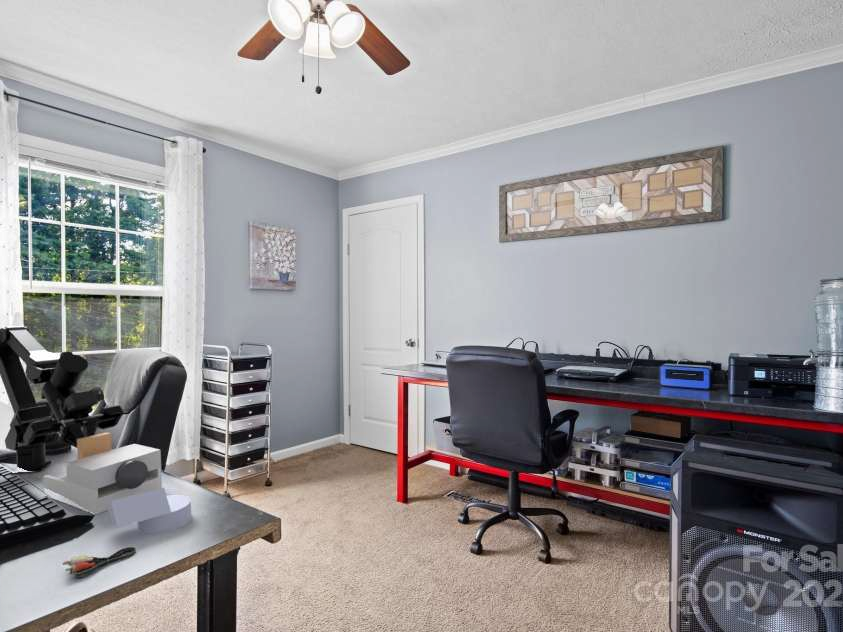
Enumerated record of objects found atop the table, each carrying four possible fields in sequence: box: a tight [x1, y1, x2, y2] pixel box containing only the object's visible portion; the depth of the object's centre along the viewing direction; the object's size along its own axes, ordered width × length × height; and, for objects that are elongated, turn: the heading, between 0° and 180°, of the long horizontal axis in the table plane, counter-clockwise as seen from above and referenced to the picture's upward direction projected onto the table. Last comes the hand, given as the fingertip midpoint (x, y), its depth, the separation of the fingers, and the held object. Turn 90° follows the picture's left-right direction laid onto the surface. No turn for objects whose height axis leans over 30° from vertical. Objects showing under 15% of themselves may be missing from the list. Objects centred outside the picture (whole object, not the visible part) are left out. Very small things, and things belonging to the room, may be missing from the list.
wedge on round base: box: [107, 486, 192, 534], centre depth 89 cm, size 9×7×13 cm
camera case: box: [43, 443, 163, 516], centre depth 104 cm, size 22×14×9 cm, turn 61°
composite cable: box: [62, 546, 137, 580], centre depth 76 cm, size 10×5×2 cm, turn 129°
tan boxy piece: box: [65, 431, 113, 481], centre depth 105 cm, size 8×12×9 cm
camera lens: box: [36, 399, 72, 457], centre depth 134 cm, size 8×8×15 cm
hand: (92, 453), depth 107 cm, fingers closed, pressing on tan boxy piece
